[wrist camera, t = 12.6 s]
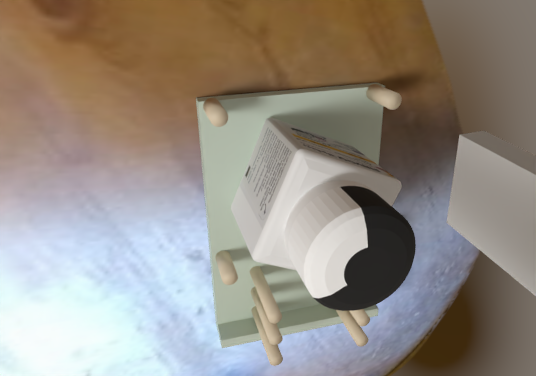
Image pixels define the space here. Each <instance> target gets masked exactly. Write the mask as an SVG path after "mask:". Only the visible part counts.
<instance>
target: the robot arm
mask: <svg viewBox="0 0 536 376" xmlns="http://www.w3.org/2000/svg"><path fill="white" fill-rule="evenodd" d="M447 223H448V224H449V225H450V226H451V227H453V228H454V229H455V230H456V231H458V232H459V233H460V234H461V235H462V236H464V237H465V238H466V239H467V240H468V241H470V242H471V243H472V244H473V245H474V246H476V247H477V248H478V249H479V250H481V251H482V252H483V253H484V254H485V255H487V256H488V257H489V258H490V259H491V260H493V261H494V262H495V263H496V264H498V265H499V266H500V267H501V268H502V269H504V270H505V271H506V272H507V273H508V274H510V275H511V276H512V277H513V278H515V279H516V280H517V281H518V282H519V283H520V284H522V285H523V286H524V287H525V288H527V289H528V290H529V291H530V292H531V293H533V294H534V295H535V296H536V155H533V154H532V153H530V152H528V151H525V150H523V149H521V148H519V147H517V146H515V145H513V144H511V143H509V142H507V141H504V140H503V139H500V138H499V137H496V136H494V135H492V134H490V133H488V132H486V131H479V132H473V133H467V134H460V135H459V142H458V149H457V156H456V162H455V169H454V176H453V183H452V190H451V197H450V203H449V210H448V217H447Z"/></svg>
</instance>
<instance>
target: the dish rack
mask: <svg viewBox="0 0 536 376" xmlns="http://www.w3.org/2000/svg"><path fill="white" fill-rule="evenodd" d="M401 100H402V99H401V96H400V94H398V93H396V92H394V91H392V90H389V89H387V88H385V86H384V85H382V84H380V83H367V84H356V85H344V86H332V87H320V88H308V89H296V90H284V91H272V92H260V93H248V94H236V95H224V96H212V97H200V98H196V103H197V115H198V126H199V137H200V149H201V160H202V171H203V183H204V194H205V206H206V217H207V228H208V240H209V251H210V262H211V274H212V285H213V296H214V308H215V319H216V326H217V330H218V334H219V338H220V342H221V346H222V348H225V347H230V346H235V345H239V344H244V343H249V342H254V341H259V340H262V342H263V345H264V348H265V350H266V353H267V356H268V359H269V361H270V364H271V365H274V366H276V365H279V364H280V363H281V362H282V360H283V358H282V355H281V353H280V350H279V348H278V345H277V344H279V343H280V342H281V341H282V336H283V335H287V334H292V333H297V332H302V331H306V330H311V329H316V328H321V327H326V326H330V325H335V324H340V323H344V325H345V326H346V328H347V330H348V331H349V333H350V334H351V336H352V338H353V339H354V341H355V342H356V344H357V345H358V346H364V345H366V344H367V342H368V338H367V336H366V335H365V333H364V332H363V330H362V329H361V327H360V326H366V325H367V324H368V323H369V321H370V318H369V317H374V316H378V307H377V306H376V305H373V306H371V307H368V308H365V309H361V310H354V311H341V310H334V309H330V308H328V307H325V306H323V305H322V304H320V303H319V302H317V301H316V300H315V299H314V298H313V297H312V295H311V294H310V293H309V291H308V289H307V288H306V286H305V284H304V282H303V281H302V279H301V277H300V275H299V274H298V272H297V270H292V269H288V268H283V267H279V266H274V265H269V264H265V263H260V262H256V261H254V260H253V258H252V256H251V254H250V252H249V249H248V247H247V245H246V242H245V240H244V238H243V236H242V233H241V231H240V229H239V226H238V224H237V222H236V220H235V217H234V215H233V213H232V210H231V205H232V202H233V200H234V197H235V195H236V192H237V190H238V187H239V185H240V182H241V180H242V177H243V175H244V172H245V170H246V167H247V165H248V162H249V160H250V157H251V155H252V152H253V150H254V147H255V145H256V142H257V140H258V137H259V135H260V132H261V130H262V127H263V125H264V122H265V120H266V119H267V118H274V119H277V120H280V121H283V122H286V123H289V124H291V125H294V126H297V127H300V128H303V129H306V130H309V131H311V132H314V133H317V134H320V135H323V136H326V137H329V138H331V139H334V140H337V141H340V142H343V143H346V144H348V145H351V146H353V147H355V148H356V149H357V150H359V151H360V152H361V153H363V154H364V155H365V156H367V157H368V158H369V159H371V160H372V161H373V162H375V163H376V164H377V165H379V155H380V142H381V130H382V117H383V106H384V107H386V108H388V109H391V110H394V109H396V108H398V107H399V106H400V104H401Z"/></svg>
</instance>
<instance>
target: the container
mask: <svg viewBox="0 0 536 376" xmlns="http://www.w3.org/2000/svg"><path fill="white" fill-rule="evenodd" d="M401 187H402V184H401V182H400V181H399V180H398V179H396V178H395V177H394V176H392V175H391V174H389V173H388V172H387V171H385V170H384V169H383V168H381V167H380V166H379V165H377V164H376V163H375V162H373V161H372V160H371V159H369V158H368V157H367V156H365V155H364V154H363V153H361V152H360V151H359V150H357V149H356V148H355V147H353V146H351V145H348V144H346V143H343V142H340V141H337V140H334V139H331V138H329V137H326V136H323V135H320V134H317V133H314V132H311V131H309V130H306V129H303V128H300V127H297V126H294V125H291V124H289V123H286V122H283V121H280V120H277V119H274V118H267V119H266V120H265V122H264V125H263V127H262V130H261V132H260V135H259V137H258V140H257V142H256V145H255V147H254V150H253V152H252V155H251V157H250V160H249V162H248V165H247V167H246V170H245V172H244V175H243V177H242V180H241V182H240V185H239V187H238V190H237V192H236V195H235V197H234V200H233V202H232V205H231V210H232V213H233V215H234V217H235V220H236V222H237V224H238V226H239V229H240V231H241V233H242V236H243V238H244V240H245V242H246V245H247V247H248V249H249V252H250V254H251V256H252V258H253V260H254V261H256V262H260V263H265V264H269V265H274V266H279V267H283V268H288V269H292V270H297V272H298V274H299V275H300V277H301V279H302V281H303V282H304V284H305V286H306V288H307V289H308V291H309V293H310V294H311V295H312V297H313V298H314V299H315V300H316V301H317V302H319V303H320V304H322V305H323V306H325V307H328V308H330V309H334V310H341V311H354V310H361V309H365V308H368V307H371V306H373V305H376V304H377V303H379V302H381V301H383V300H384V299H386V298H387V297H389V296H390V295H391V294H392V293H393V292H395V291H396V290H397V289H398V288H399V286H400V285H401V284H402V283H403V281H404V280H405V278H406V277H407V275H408V273H409V271H410V269H411V266H412V263H413V259H414V255H415V237H414V232H413V230H412V228H411V226H410V224H409V223H408V221H407V220H406V219H405V218H404V217H403V216H402V215H401V214H400V213H399V212H397V211H396V210H395V209H394V208H393V207H392V205H393V203H394V201H395V199H396V198H397V196H398V194H399V192H400V190H401Z"/></svg>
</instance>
